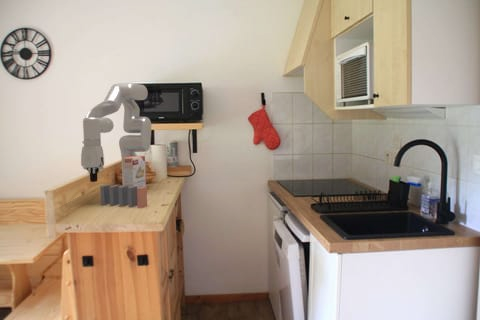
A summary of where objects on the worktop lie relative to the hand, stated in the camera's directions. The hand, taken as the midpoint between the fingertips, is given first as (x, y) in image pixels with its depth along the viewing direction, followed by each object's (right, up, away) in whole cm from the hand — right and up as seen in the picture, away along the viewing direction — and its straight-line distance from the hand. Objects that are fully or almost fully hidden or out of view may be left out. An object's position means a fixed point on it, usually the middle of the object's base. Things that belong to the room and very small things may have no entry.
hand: (93, 181), depth 175 cm
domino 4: (+20, -11, -4) cm, 24 cm away
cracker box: (+14, -9, +20) cm, 26 cm away
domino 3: (+15, -11, -3) cm, 19 cm away
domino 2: (+11, -11, -2) cm, 15 cm away
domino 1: (+6, -11, 0) cm, 12 cm away
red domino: (+25, -11, -6) cm, 28 cm away
